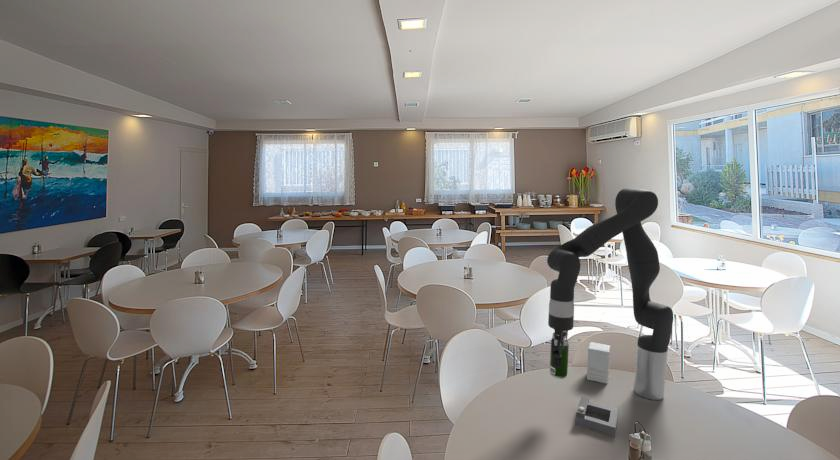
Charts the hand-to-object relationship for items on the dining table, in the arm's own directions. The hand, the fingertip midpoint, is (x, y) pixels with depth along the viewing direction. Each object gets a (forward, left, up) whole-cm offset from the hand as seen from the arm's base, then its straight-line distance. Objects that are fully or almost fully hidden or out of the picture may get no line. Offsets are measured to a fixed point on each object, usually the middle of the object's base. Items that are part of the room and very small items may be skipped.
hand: (558, 363), depth 125 cm
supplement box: (-32, +9, -17) cm, 38 cm away
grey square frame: (-1, +12, -17) cm, 21 cm away
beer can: (0, 0, -4) cm, 4 cm away
